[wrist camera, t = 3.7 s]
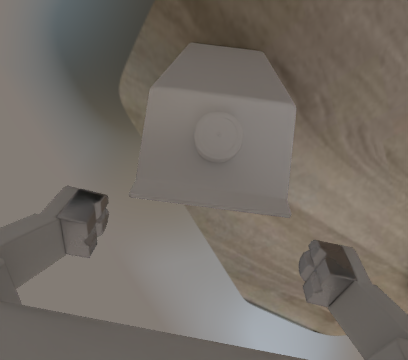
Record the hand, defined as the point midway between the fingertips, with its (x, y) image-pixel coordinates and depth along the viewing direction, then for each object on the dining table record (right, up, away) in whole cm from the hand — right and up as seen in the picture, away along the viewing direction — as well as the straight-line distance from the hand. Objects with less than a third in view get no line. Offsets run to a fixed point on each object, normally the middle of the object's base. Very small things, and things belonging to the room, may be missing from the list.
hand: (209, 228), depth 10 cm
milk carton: (+2, +12, +17) cm, 20 cm away
